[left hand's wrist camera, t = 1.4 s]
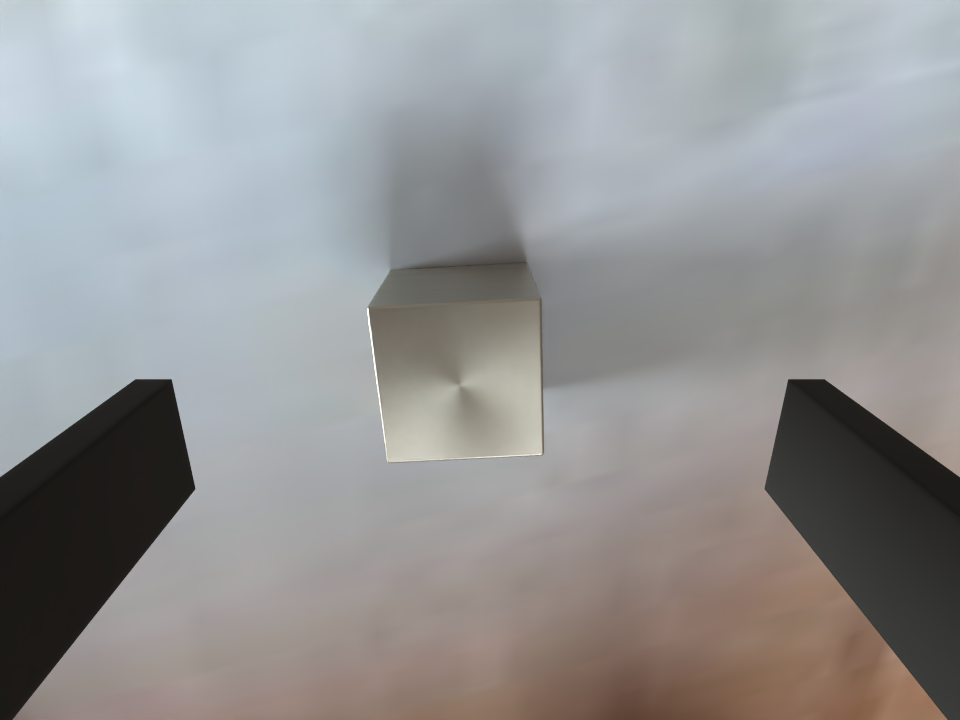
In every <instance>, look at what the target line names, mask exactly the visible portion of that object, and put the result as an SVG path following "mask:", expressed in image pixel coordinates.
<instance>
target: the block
mask: <svg viewBox="0 0 960 720" xmlns="http://www.w3.org/2000/svg"><path fill="white" fill-rule="evenodd" d="M367 314H368V321H369V329H370V337H371V344H372V352H373V359H374V367H375V374H376V382H377V389H378V397H379V405H380V412H381V420H382V427H383V435H384V442H385V450H386V457H387V462H388V463H399V462H419V461H438V460H458V459H478V458H498V457H518V456H538V455H543V454H544V423H543V359H542V300H541V297H540V294H539V292H538V289H537V287H536V284H535V282H534V279H533V276H532V274H531V271H530V269H529V266H528V264H527V263H510V264H492V265H474V266H455V267H437V268H419V269H401V270H391V271H390V272H389V274H388V275H387V277H386V278H385V280H384V282H383V283H382V285H381V286H380V288H379V290H378V291H377V293H376V294H375V296H374V298H373V299H372V301H371V302H370V304H369V306H368V307H367Z"/></svg>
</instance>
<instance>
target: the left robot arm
mask: <svg viewBox="0 0 960 720" xmlns="http://www.w3.org/2000/svg"><path fill="white" fill-rule="evenodd" d="M194 490H195V485H194V480H193V476H192V471H191V466H190V462H189V457H188V453H187V448H186V443H185V439H184V434H183V430H182V425H181V420H180V416H179V411H178V407H177V402H176V397H175V393H174V388H173V384H172V379H135V380H134V381H133V382H131V383H130V384H129V385H127V386H126V387H124V388H123V389H122V390H120V391H119V392H117V393H116V394H115V395H113V396H112V397H111V398H109V399H108V400H106V401H105V402H104V403H102V404H101V405H100V406H98V407H97V408H95V409H94V410H93V411H91V412H90V413H88V414H87V415H86V416H84V417H83V418H82V419H80V420H79V421H77V422H76V423H75V424H73V425H72V426H70V427H69V428H68V429H66V430H65V431H64V432H62V433H61V434H59V435H58V436H57V437H55V438H54V439H53V440H51V441H50V442H48V443H47V444H46V445H44V446H43V447H41V448H40V449H39V450H37V451H36V452H35V453H33V454H32V455H30V456H29V457H28V458H26V459H25V460H23V461H22V462H21V463H19V464H18V465H17V466H15V467H14V468H12V469H11V470H10V471H8V472H7V473H6V474H4V475H3V476H1V477H0V720H12V719H13V718H14V717H15V716H16V714H17V713H18V712H19V711H20V709H21V708H22V707H23V706H24V704H25V703H26V702H27V701H28V699H29V698H30V697H31V696H32V694H33V693H34V692H35V690H36V689H37V688H38V687H39V685H40V684H41V683H42V682H43V680H44V679H45V678H46V677H47V675H48V674H49V673H50V672H51V670H52V669H53V668H54V667H55V665H56V664H57V663H58V662H59V660H60V659H61V658H62V656H63V655H64V654H65V653H66V651H67V650H68V649H69V648H70V646H71V645H72V644H73V643H74V641H75V640H76V639H77V638H78V636H79V635H80V634H81V633H82V631H83V630H84V629H85V627H86V626H87V625H88V624H89V622H90V621H91V620H92V619H93V617H94V616H95V615H96V614H97V612H98V611H99V610H100V609H101V607H102V606H103V605H104V604H105V602H106V601H107V600H108V598H109V597H110V596H111V595H112V593H113V592H114V591H115V590H116V588H117V587H118V586H119V585H120V583H121V582H122V581H123V580H124V578H125V577H126V576H127V575H128V573H129V572H130V571H131V569H132V568H133V567H134V566H135V564H136V563H137V562H138V561H139V559H140V558H141V557H142V556H143V554H144V553H145V552H146V551H147V549H148V548H149V547H150V546H151V544H152V543H153V542H154V541H155V539H156V538H157V537H158V535H159V534H160V533H161V532H162V530H163V529H164V528H165V527H166V525H167V524H168V523H169V522H170V520H171V519H172V518H173V517H174V515H175V514H176V513H177V512H178V510H179V509H180V508H181V506H182V505H183V504H184V503H185V501H186V500H187V499H188V498H189V496H190V495H191V494H192V493H193V491H194ZM765 490H766V491H767V493H768V494H769V495H770V496H771V498H772V499H773V500H774V501H775V503H776V504H777V505H778V506H779V508H780V509H781V510H782V512H783V513H784V514H785V515H786V517H787V518H788V519H789V520H790V522H791V523H792V524H793V525H794V527H795V528H796V529H797V530H798V532H799V533H800V534H801V535H802V537H803V538H804V539H805V541H806V542H807V543H808V544H809V546H810V547H811V548H812V549H813V551H814V552H815V553H816V554H817V556H818V557H819V558H820V559H821V561H822V562H823V563H824V564H825V566H826V567H827V568H828V569H829V571H830V572H831V573H832V575H833V576H834V577H835V578H836V580H837V581H838V582H839V583H840V585H841V586H842V587H843V588H844V590H845V591H846V592H847V593H848V595H849V596H850V597H851V598H852V600H853V601H854V602H855V604H856V605H857V606H858V607H859V609H860V610H861V611H862V612H863V614H864V615H865V616H866V617H867V619H868V620H869V621H870V622H871V624H872V625H873V626H874V627H875V629H876V630H877V631H878V633H879V634H880V635H881V636H882V638H883V639H884V640H885V641H886V643H887V644H888V645H889V646H890V648H891V649H892V650H893V651H894V653H895V654H896V655H897V656H898V658H899V659H900V660H901V662H902V663H903V664H904V665H905V667H906V668H907V669H908V670H909V672H910V673H911V674H912V675H913V677H914V678H915V679H916V680H917V682H918V683H919V684H920V685H921V687H922V688H923V689H924V690H925V692H926V693H927V694H928V696H929V697H930V698H931V699H932V701H933V702H934V703H935V704H936V706H937V707H938V708H939V709H940V711H941V712H942V713H943V714H944V716H945V717H946V718H947V719H948V720H960V477H959V476H957V475H956V474H954V473H953V472H952V471H950V470H949V469H948V468H946V467H945V466H943V465H942V464H941V463H939V462H938V461H937V460H935V459H934V458H932V457H931V456H930V455H928V454H927V453H925V452H924V451H923V450H921V449H920V448H919V447H917V446H916V445H914V444H913V443H912V442H910V441H909V440H907V439H906V438H905V437H903V436H902V435H901V434H899V433H898V432H896V431H895V430H894V429H892V428H891V427H890V426H888V425H887V424H885V423H884V422H883V421H881V420H880V419H878V418H877V417H876V416H874V415H873V414H872V413H870V412H869V411H867V410H866V409H865V408H863V407H862V406H860V405H859V404H858V403H856V402H855V401H854V400H852V399H851V398H849V397H848V396H847V395H845V394H844V393H843V392H841V391H840V390H838V389H837V388H836V387H834V386H833V385H831V384H830V383H829V382H827V381H826V380H825V379H788V384H787V388H786V393H785V397H784V402H783V407H782V411H781V416H780V420H779V425H778V430H777V434H776V439H775V443H774V448H773V453H772V457H771V462H770V466H769V471H768V476H767V480H766V485H765Z"/></svg>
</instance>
